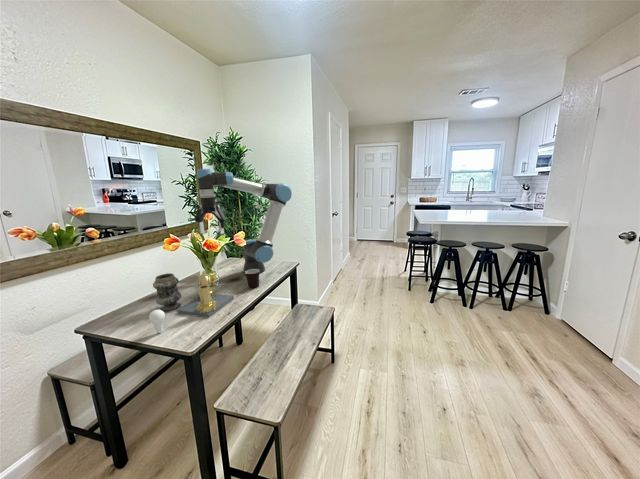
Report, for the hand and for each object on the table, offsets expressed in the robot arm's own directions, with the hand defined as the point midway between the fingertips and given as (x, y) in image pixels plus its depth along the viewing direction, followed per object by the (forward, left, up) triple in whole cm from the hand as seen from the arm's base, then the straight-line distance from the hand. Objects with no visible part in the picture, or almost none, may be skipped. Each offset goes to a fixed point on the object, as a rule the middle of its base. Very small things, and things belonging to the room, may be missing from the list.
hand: (212, 233), depth 161 cm
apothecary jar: (+28, -10, -35) cm, 46 cm away
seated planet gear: (+16, +3, -33) cm, 36 cm away
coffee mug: (-8, +20, -35) cm, 41 cm away
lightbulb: (+49, +5, -35) cm, 60 cm away
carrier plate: (+22, +8, -35) cm, 42 cm away
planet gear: (+28, +14, -33) cm, 45 cm away
